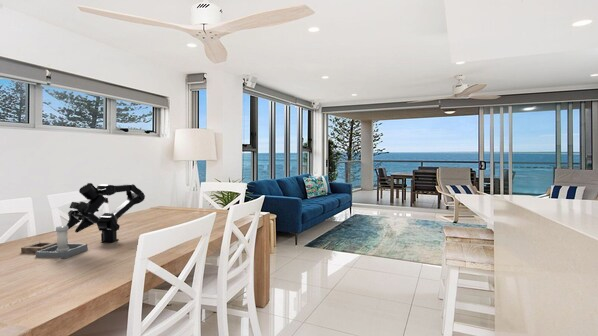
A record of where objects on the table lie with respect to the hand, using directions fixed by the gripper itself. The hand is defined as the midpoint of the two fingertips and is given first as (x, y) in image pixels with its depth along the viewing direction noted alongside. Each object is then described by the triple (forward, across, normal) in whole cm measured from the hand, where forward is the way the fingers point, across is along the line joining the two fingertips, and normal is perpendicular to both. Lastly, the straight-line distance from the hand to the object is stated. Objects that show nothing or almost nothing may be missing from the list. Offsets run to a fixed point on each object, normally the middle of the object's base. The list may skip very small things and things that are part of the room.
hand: (70, 230), depth 154 cm
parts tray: (+10, 0, +4) cm, 11 cm away
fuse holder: (+12, -14, +2) cm, 18 cm away
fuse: (+9, 0, +4) cm, 10 cm away
